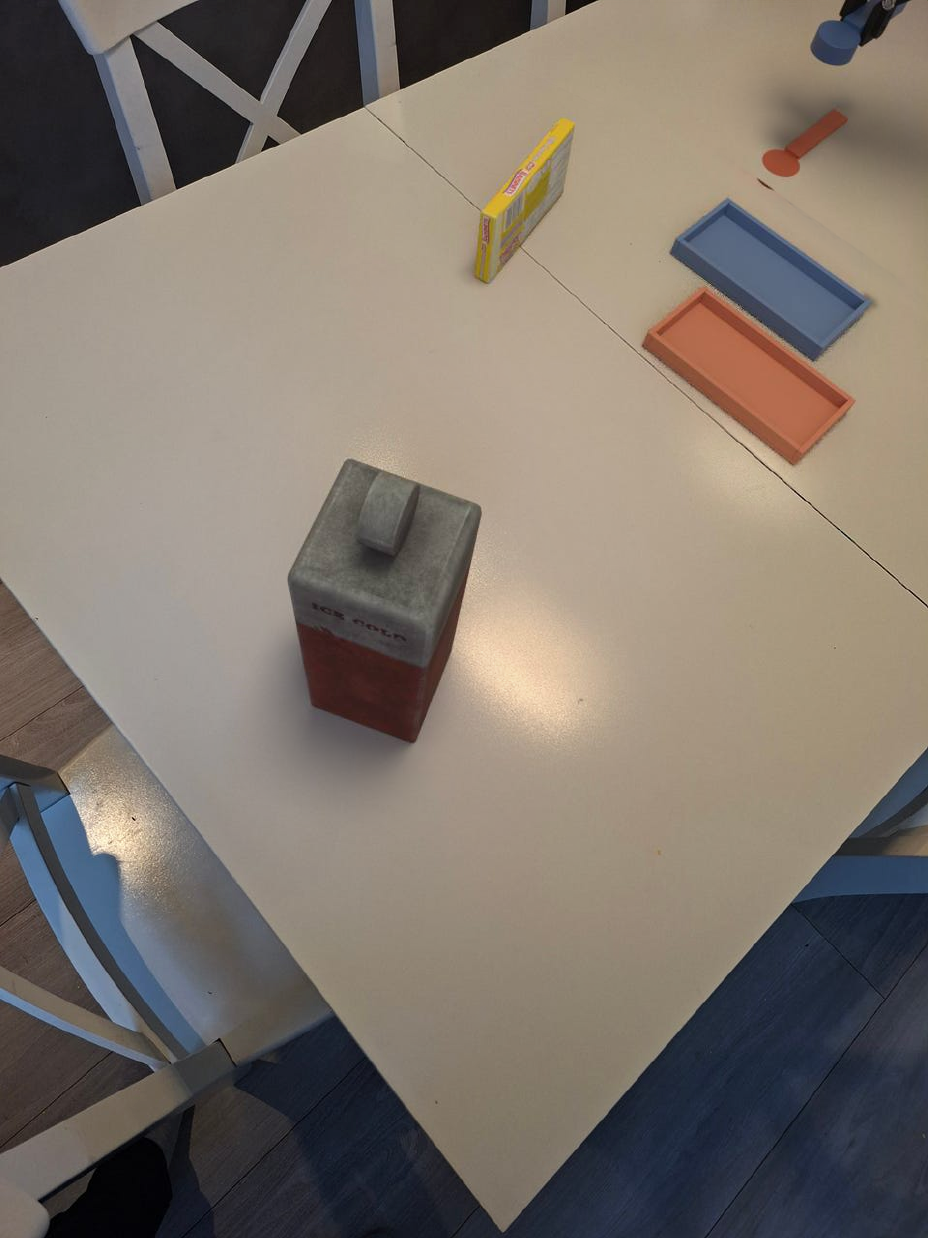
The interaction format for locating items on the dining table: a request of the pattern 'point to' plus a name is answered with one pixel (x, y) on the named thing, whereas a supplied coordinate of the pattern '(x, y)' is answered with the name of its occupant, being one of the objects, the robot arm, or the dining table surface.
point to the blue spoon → (843, 35)
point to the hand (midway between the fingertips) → (856, 32)
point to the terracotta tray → (748, 374)
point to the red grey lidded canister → (381, 596)
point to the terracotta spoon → (801, 147)
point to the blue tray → (770, 278)
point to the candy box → (523, 201)
